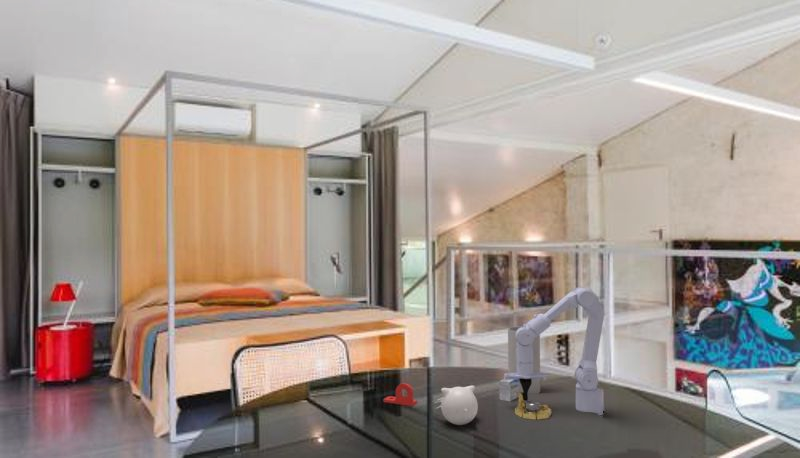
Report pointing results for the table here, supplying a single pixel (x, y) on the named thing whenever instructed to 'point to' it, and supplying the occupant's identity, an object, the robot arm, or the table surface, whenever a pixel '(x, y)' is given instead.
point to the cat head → (459, 404)
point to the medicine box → (509, 389)
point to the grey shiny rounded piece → (532, 406)
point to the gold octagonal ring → (521, 412)
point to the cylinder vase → (513, 359)
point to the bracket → (402, 396)
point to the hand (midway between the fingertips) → (525, 399)
